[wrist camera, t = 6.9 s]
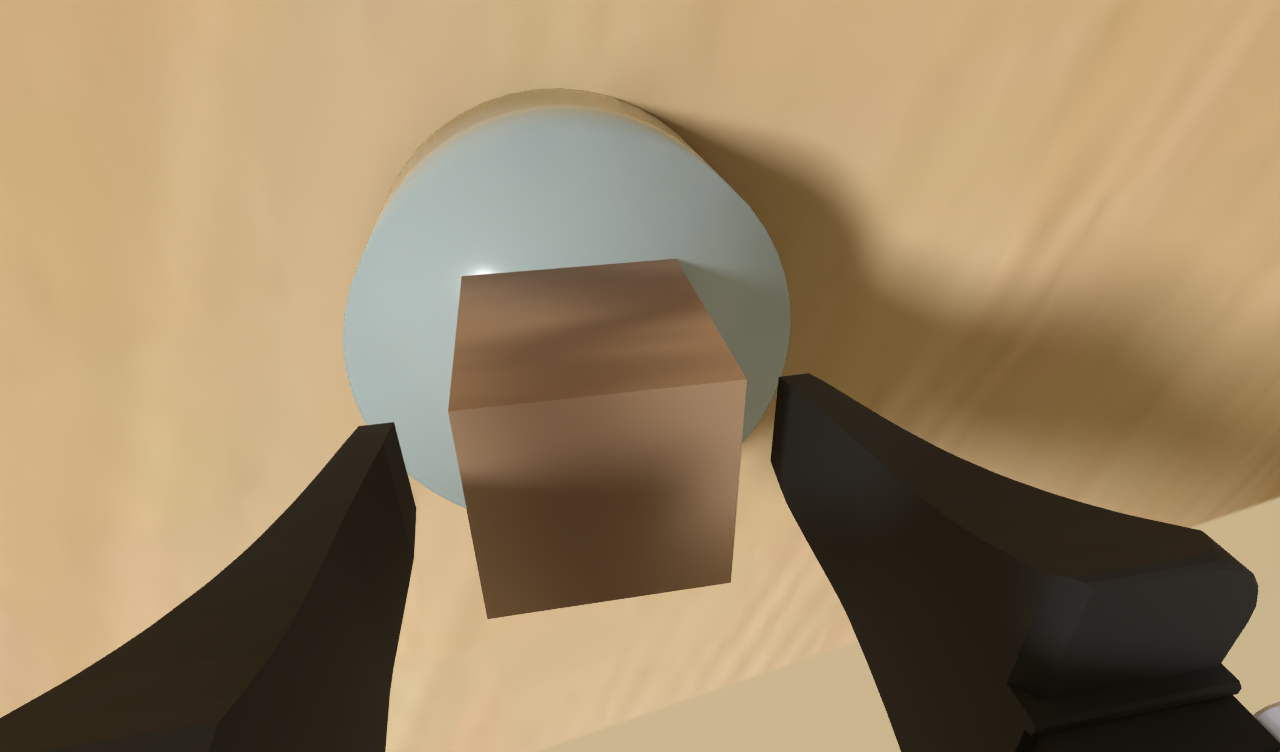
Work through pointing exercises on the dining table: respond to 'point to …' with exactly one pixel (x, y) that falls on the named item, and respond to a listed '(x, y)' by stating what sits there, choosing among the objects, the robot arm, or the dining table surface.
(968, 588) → the robot arm
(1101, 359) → the dining table surface
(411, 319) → the grey rounded dome
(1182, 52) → the dining table surface
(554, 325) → the walnut block
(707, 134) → the dining table surface
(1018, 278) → the dining table surface
